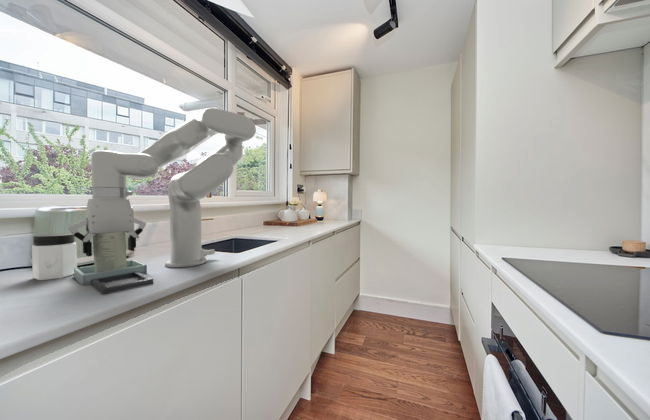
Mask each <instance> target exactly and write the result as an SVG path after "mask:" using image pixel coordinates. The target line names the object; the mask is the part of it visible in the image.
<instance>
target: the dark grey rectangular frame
mask: <svg viewBox="0 0 650 420" xmlns="http://www.w3.org/2000/svg"><path fill="white" fill-rule="evenodd" d="M130 278H136V279H137V280H136V281H131V282H125V283H122V284H117V285H116V284H115V285H112V286H107V285H105V284H104V283H109V282H110V283H111V282H115V281H121V280H125V279H130ZM152 284H154V279H153V278H152V277H150V276H147V274H142V273H140V272H138V271H137V272H131V273H126V274H120V275H114V276H109V277H103V278H97V279H92V280H91V284H90V285H91V286H92V287H94V288H95V289H97V291H99V292H100V294H102V295H106V294H111V293H116V292H119V291H120V292H121V291H126V290H130V289H134V288H139V287H143V286H147V285H152Z"/></svg>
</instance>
